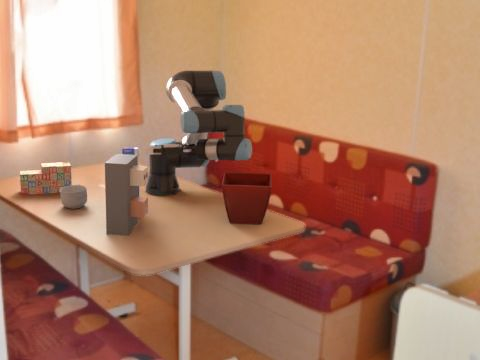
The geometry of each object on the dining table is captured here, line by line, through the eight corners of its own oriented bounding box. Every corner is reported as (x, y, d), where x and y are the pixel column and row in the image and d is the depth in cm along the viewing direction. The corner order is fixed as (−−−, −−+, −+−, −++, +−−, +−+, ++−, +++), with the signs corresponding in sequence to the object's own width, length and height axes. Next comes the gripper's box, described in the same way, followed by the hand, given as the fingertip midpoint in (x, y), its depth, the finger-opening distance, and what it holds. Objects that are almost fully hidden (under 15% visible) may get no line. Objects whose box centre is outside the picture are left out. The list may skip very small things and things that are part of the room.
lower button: (148, 212, 242) (148, 197, 241) (144, 217, 237) (143, 202, 235) (127, 210, 243) (127, 195, 242) (122, 215, 237) (122, 200, 236)
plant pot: (223, 210, 266) (224, 171, 262) (269, 212, 266) (271, 173, 261) (220, 226, 248) (221, 184, 243) (269, 228, 248) (272, 186, 243)
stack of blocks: (21, 195, 276) (19, 167, 273) (20, 191, 282) (19, 164, 279) (72, 192, 283) (71, 165, 280) (71, 188, 289) (69, 161, 285)
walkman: (122, 171, 317) (122, 148, 314) (122, 170, 320) (122, 147, 317) (138, 171, 319) (138, 148, 316) (138, 170, 322) (138, 146, 318)
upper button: (148, 181, 239) (148, 166, 237) (143, 186, 233) (143, 170, 232) (126, 180, 240) (126, 164, 238) (122, 184, 234) (121, 169, 232)
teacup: (80, 212, 258) (79, 193, 256) (55, 209, 260) (54, 190, 258) (94, 201, 271) (94, 183, 269) (71, 199, 273) (70, 181, 271)
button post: (138, 222, 248) (137, 155, 241) (127, 235, 235) (126, 164, 227) (118, 221, 249) (116, 153, 242) (106, 233, 236) (104, 162, 228)
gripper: (194, 163, 216) (138, 162, 223) (221, 157, 240) (170, 156, 247) (194, 140, 215) (138, 140, 223) (221, 137, 239) (169, 137, 246)
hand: (154, 149), depth 235 cm, fingers open, 13 cm apart
